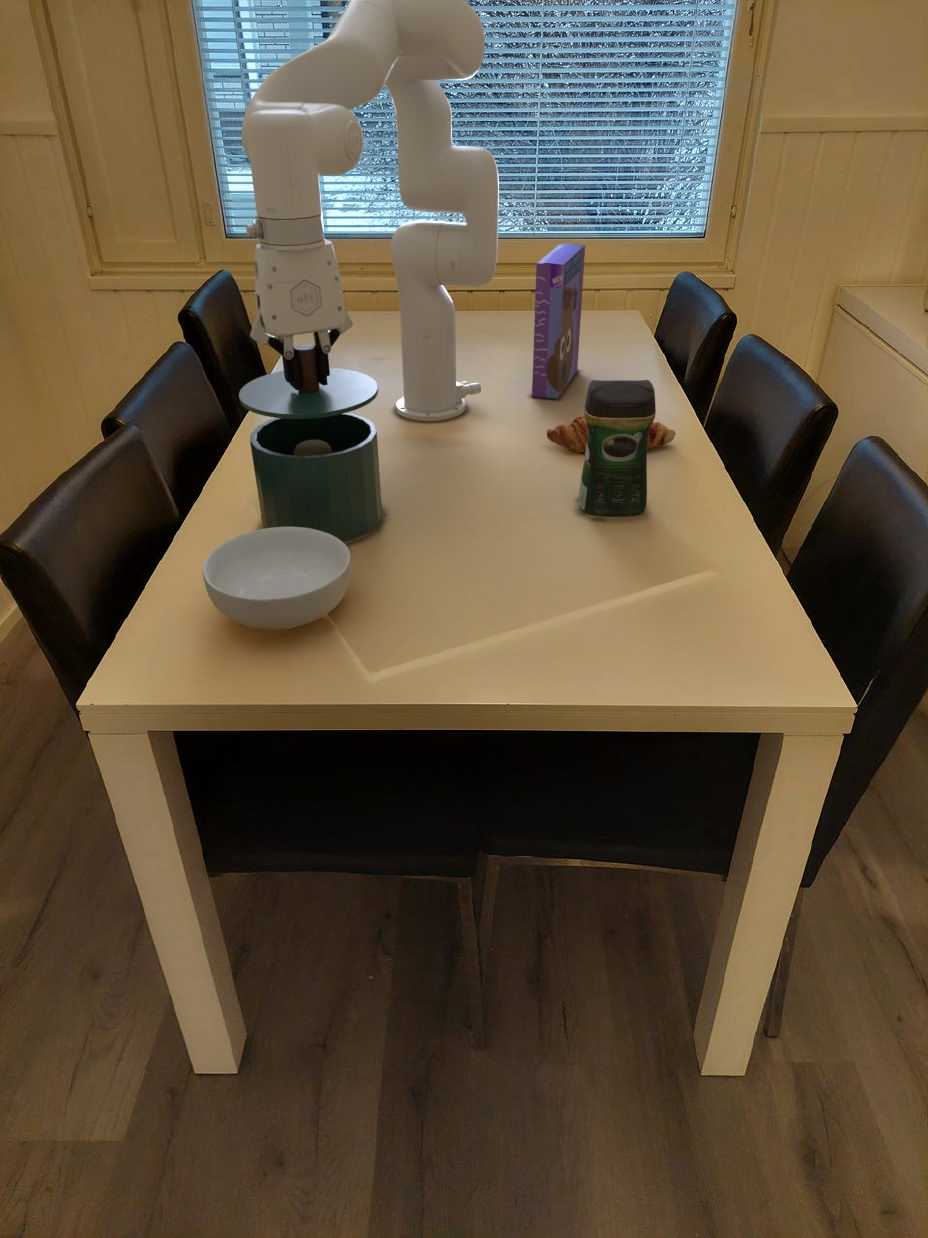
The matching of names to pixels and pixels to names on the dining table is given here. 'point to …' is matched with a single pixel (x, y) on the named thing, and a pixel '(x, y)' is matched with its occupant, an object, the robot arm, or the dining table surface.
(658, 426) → the croissant
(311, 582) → the cereal bowl
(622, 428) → the coffee jar
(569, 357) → the cereal box
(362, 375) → the tin lid
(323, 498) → the tin
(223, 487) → the dining table surface
